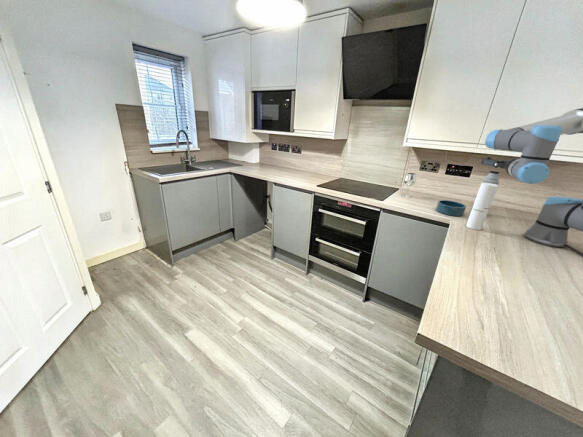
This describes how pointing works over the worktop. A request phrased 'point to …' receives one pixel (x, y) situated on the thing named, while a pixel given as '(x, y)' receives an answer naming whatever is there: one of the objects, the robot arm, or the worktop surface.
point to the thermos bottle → (492, 178)
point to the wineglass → (409, 181)
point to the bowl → (451, 208)
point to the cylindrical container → (481, 205)
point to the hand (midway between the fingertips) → (504, 161)
